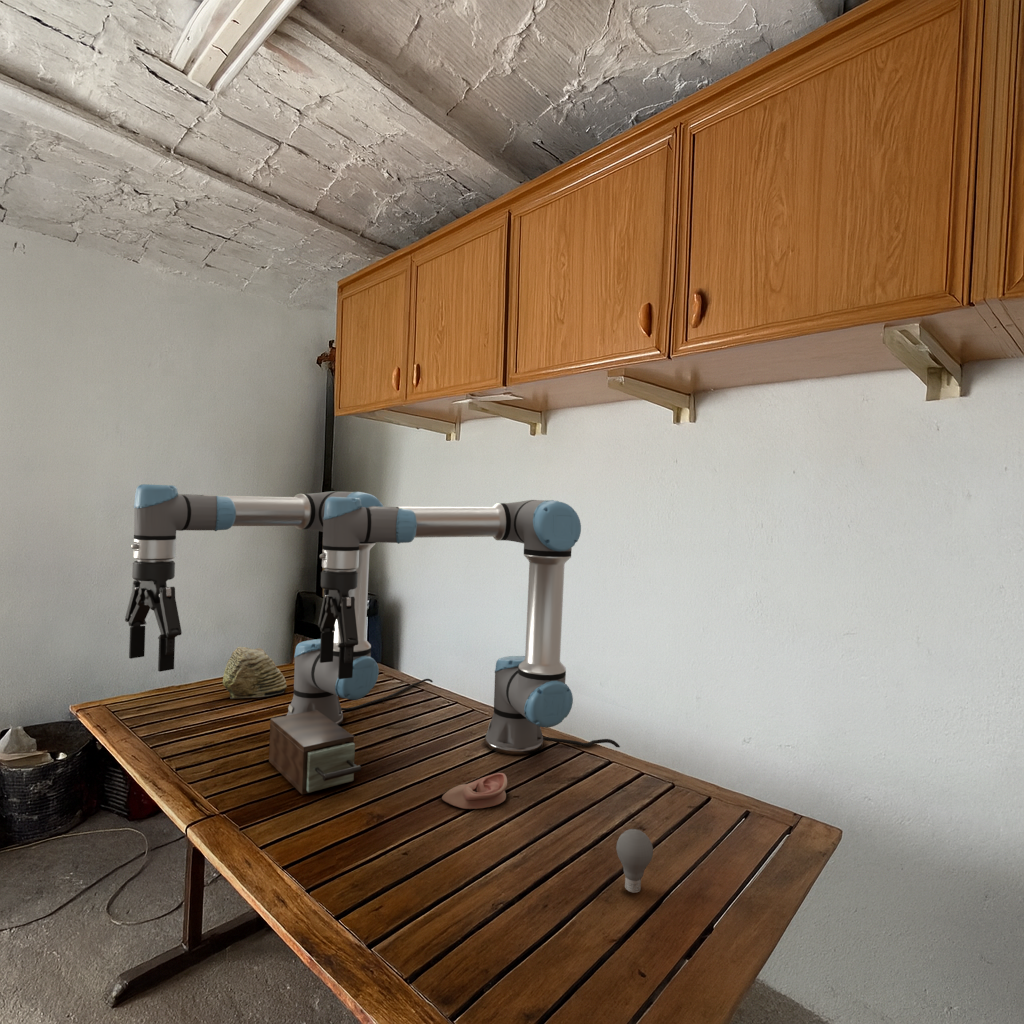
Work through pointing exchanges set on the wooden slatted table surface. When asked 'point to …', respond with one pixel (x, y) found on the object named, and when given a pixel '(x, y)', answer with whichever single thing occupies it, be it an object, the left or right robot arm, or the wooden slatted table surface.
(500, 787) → the anatomical model
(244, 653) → the fossil
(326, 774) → the drawer
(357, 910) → the wooden slatted table surface
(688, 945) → the wooden slatted table surface
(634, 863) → the light bulb
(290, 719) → the cabinet
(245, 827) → the wooden slatted table surface
